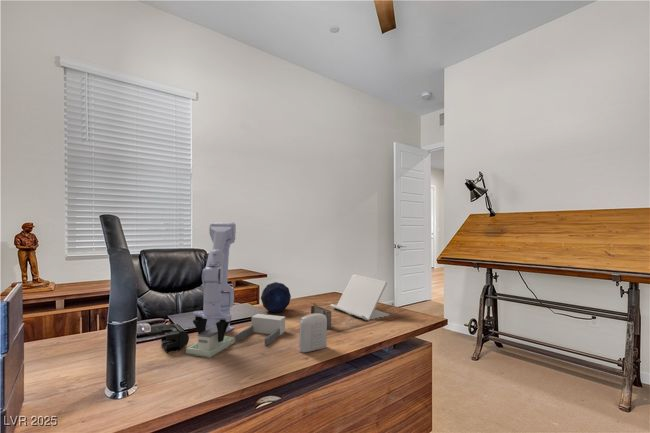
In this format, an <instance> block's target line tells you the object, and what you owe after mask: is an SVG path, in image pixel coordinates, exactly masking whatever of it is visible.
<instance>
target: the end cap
mask: <svg viewBox="0 0 650 433" xmlns="http://www.w3.org/2000/svg"><path fill="white" fill-rule="evenodd" d="M172 324H173V327H167V328H162V329H161V333H165V334H164V335H162V336H161V337H160V338H161V339H160V341H161V344H160V346H161V347H162V348H163V349H164V351H165V353H166V354H169V353H174V352H179V351H181V350H182V349H184V348H185V347H186V346H187V345H188V343H189V340H190V337H189V336H190V335H189V333H187V331H184V329H183V328H182V327H181V326H180V325H178V324H175V323H172Z"/></svg>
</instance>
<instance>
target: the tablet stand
mask: <svg viewBox="0 0 650 433" xmlns="http://www.w3.org/2000/svg"><path fill="white" fill-rule="evenodd" d="M387 284H388V282H387V281H386V280H381V279H377V278H374V277H369V276H364V275H359V274H354V273H353V274H352V275H351V277H350V278H349V281H348V283H347V285H346V287H345V289H344V291H343V293H342V294H341V296H340V298H339V300H338V301H337V304H333V303H331V304H330V307H331V308H333V309H335V310H338V311H341V312H343V313H345V314H348V315H350V316H353V315H354V316H353V317H356V318H359V319H361V318H362V319H361V320H364V321H366V320H368V321H371V320H370V319H373V320H376V319H375V318H377V319H380V318H379V317H382V318H385V317H384V316H386V317H389V316H390V314H389V313H387V312H384V311H381V310H378V309H376V307H377V305H378V303H379V302H380V299H381V297H382V295H383V293H384V290H385V288H386V286H387Z"/></svg>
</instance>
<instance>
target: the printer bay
mask: <svg viewBox="0 0 650 433" xmlns="http://www.w3.org/2000/svg"><path fill="white" fill-rule="evenodd" d="M285 331H286V316H283V315H282V316H281V315H275V314H263V313H256V314H255V315H253V316H251V324H250V326H248V327H247V328H245V329H243V330H242V331H240V332H238V333H237V334H236V336H235V342H236V343H237V342H240V341H242V340H243V339H245V338H246V337H248V336H250V335H251V334H252V333H256V334H257V333H259V334H265V335H267V336H266V337H265V338H264V346H266V347H267V346H268V345H270V344H271V343H272V342H274V341H275V340H276V339H277V338H278V337H280V336H281V335H283V334H284V333H285Z"/></svg>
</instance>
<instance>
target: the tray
mask: <svg viewBox="0 0 650 433" xmlns="http://www.w3.org/2000/svg"><path fill="white" fill-rule="evenodd" d="M234 343H235V337H234V336H227V335H225V342H224V343H223V344H221V345H219V346H218V347H216V348H214V349H213V350H211V351H207V350H200V349H198V341H196V342H195V343H193V344H192V345H189V346H188V347H186V348H185V350H186V351H185V355H190V356H196V357H202V358H208V359H211V358H212V357H214V356H216V355H217V354H219V353H221V352H222V351H224V350H225V349H227V348H228V347H230V346H231V345H233V344H234Z"/></svg>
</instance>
